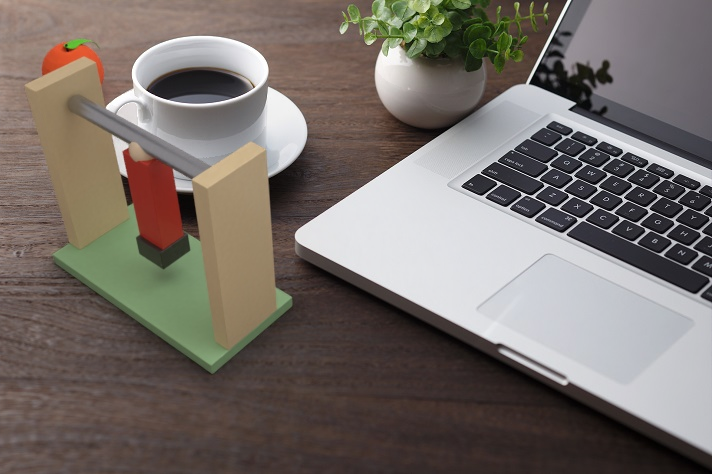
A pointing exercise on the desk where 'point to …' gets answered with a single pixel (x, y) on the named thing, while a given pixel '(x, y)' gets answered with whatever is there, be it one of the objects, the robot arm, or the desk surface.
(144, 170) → the pendulum
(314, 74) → the desk surface
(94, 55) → the clementine
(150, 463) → the desk surface
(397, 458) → the desk surface
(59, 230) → the desk surface
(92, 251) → the frame
